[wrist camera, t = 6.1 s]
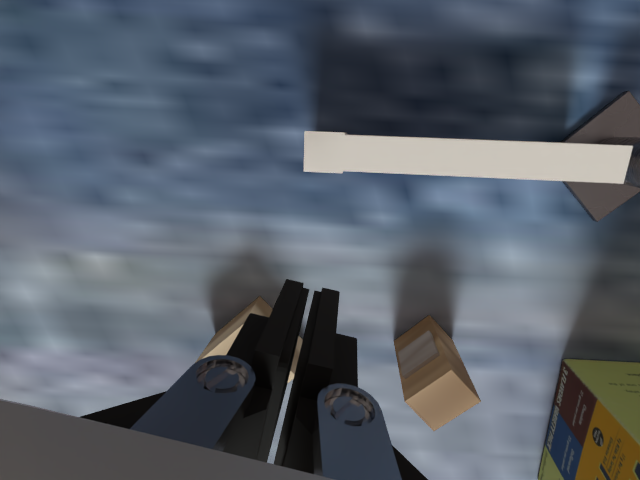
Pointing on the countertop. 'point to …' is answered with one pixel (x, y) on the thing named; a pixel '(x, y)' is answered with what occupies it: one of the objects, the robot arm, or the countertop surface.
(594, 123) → the knob on square plate
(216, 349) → the tan cube
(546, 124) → the countertop surface
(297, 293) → the robot arm
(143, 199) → the countertop surface
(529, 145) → the white long bar
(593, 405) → the protein box
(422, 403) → the stile
